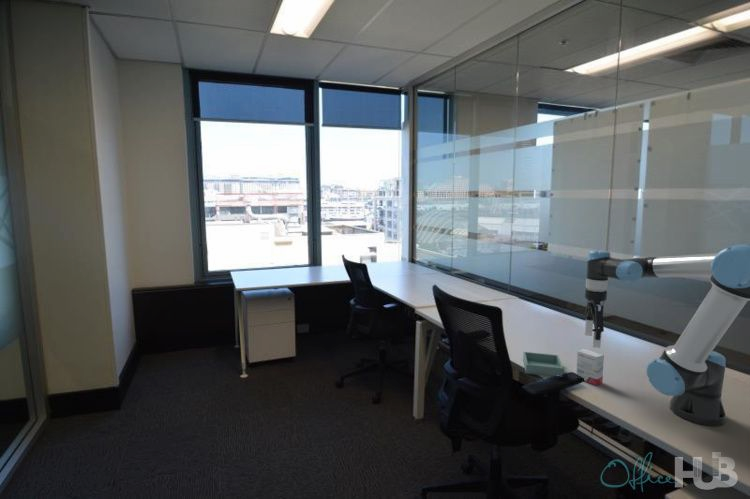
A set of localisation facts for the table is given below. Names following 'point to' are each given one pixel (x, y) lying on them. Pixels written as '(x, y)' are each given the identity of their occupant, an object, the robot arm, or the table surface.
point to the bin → (542, 364)
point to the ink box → (590, 366)
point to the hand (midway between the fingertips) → (592, 341)
